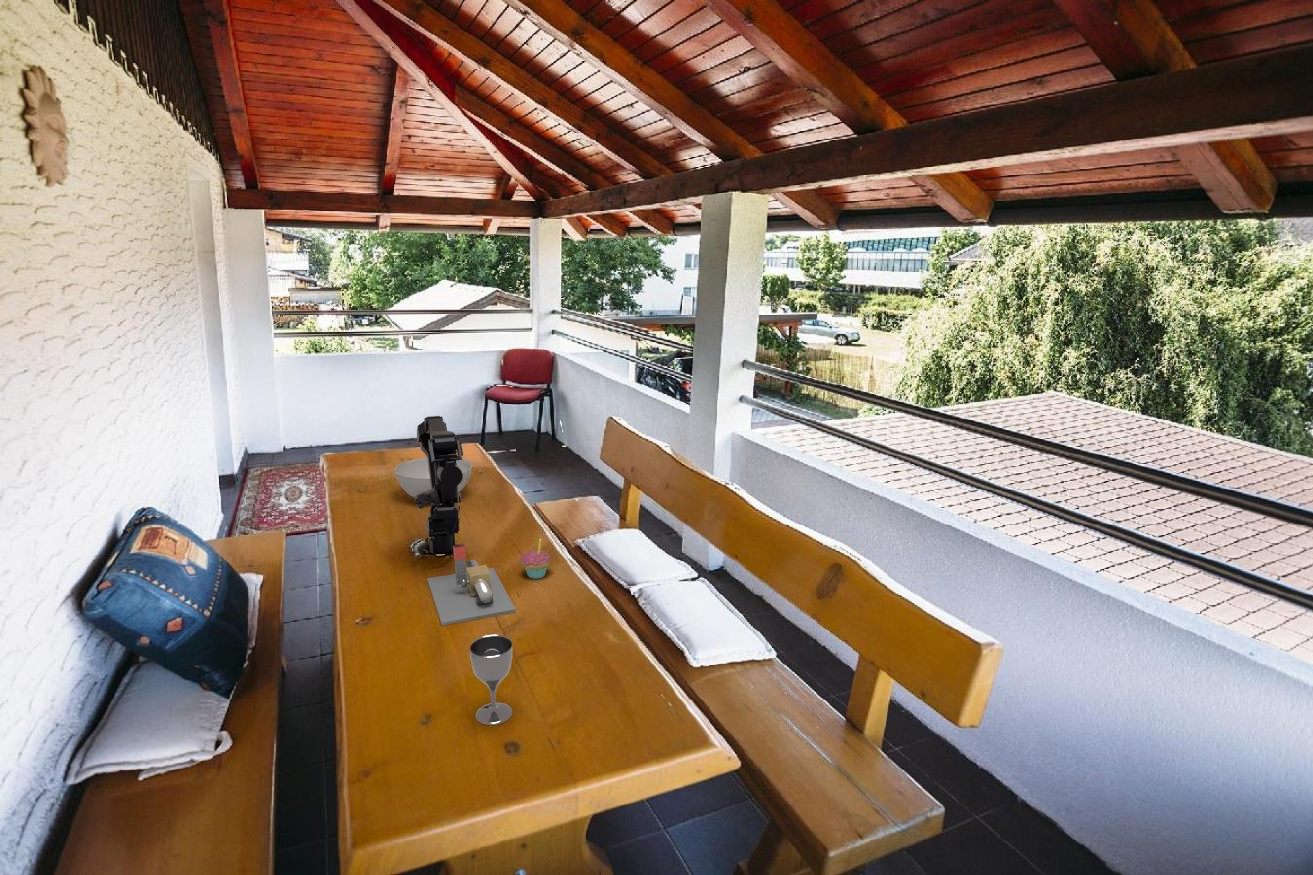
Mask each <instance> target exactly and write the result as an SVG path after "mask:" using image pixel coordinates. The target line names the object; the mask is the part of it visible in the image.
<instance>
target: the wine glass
mask: <svg viewBox="0 0 1313 875" xmlns="http://www.w3.org/2000/svg"><path fill="white" fill-rule="evenodd" d="M469 657H470V663H471V668H472V671H473V674H474V675H475V677H476V678H477V679H478V680H479V681H481V682H482V683H483V684H484V685H486V686H487V688H488V689H489V694H490V699H491V700H490V702H489V703H486V704H484V705H482V706H480V707H479V708H478V709H477V710H476V713H475V720H476V721H477V722H478V723H480V724H483V725H486V726H495V725H499V724H500V725H501V724H503V723H505V722H507V721H508V720H509V719H510V718H512V717H511V716H513V709H512V707H511V706H510V705H509V704H507V703H504V702H499V701H497V702H496V698H497V697H496V694H497V688H498V687H499V684H500V683H501V682H502V681H503V680H504V679H505V678H506V677H507V675H508V674H509V673H510V670H511V667H512V660H513V642H512V640H511V639H510V638H509V637H507V636H505V635H500V634H489V635H483V636H481V637H479V638H477V639H474V640H473V641H472V642H471V644H470V646H469Z"/></svg>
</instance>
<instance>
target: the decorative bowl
mask: <svg viewBox="0 0 1313 875" xmlns="http://www.w3.org/2000/svg"><path fill="white" fill-rule="evenodd" d="M456 463H457V466H458V467H459V469H460V470H461V471H462V474H463V479H462V481H461V483H460V484H459V485H458V492H459V493H460V492H461V491H462V490H463V489H464V488H465V486H466V485H467V483H468V481H469V479H470V477H471V474H472V472H473V465H474V464H473V463H472V462H471V461H470V460H468V459H465V458H462V460H456ZM393 469H394V470H393V473H394V475H395V478H396V481H397V482H398V484H399V486H400V487H401V488H402V489H403V490H404V492H406V493H407V494H408V495H410V496H411V497H412V498H413V499H414V498H415V496H416V495H418V494H420V493H423V492H425V491H427V490H430V489H431V483H430V475H429V467H428V459H427V456H426V457H420V458H413V459H409V460H407V461H403V462H401V463H399V464H397V465H396V466H395V467H394V468H393ZM430 505H431V506H432V505H433V503H432V504H430ZM430 505H429V506H430Z"/></svg>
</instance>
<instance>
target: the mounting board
mask: <svg viewBox="0 0 1313 875" xmlns="http://www.w3.org/2000/svg"><path fill="white" fill-rule="evenodd" d="M488 569H489V571H490V573H491V592H492V594H493V604H488V605H483V606H477V604H476V597H479V595H477V596H471V595H470V593H469V590H468V588H467V587H464V588H461V584H460V585H457V584H456V573H451V574H446V575H439V576H433V577H428V578H427V585H428V586H429V590H430V593H431V597H432V599H433V603H434V605H435V610H436V612H437V615H438V618H439V620H440V624H441V626H447V625H453V624H458V623H459V624H460V623H464V622H469V621H475V620H480V619H484V618H485V619H487V618H490V617H496V616H501V615H507V614H511V613H512V614H513V613H516V612H517V610H516V607H515V605H514V603H513V602H512V600H511V598H510V596H509V595H508V593H507V590H506V589H505V587H504V585H503V582H501V579H500V578H499V576H498V574H497V572H496V570H495V568H494V567H491V568H489V567H488ZM466 575H467V573H466ZM466 582H467V581H466Z"/></svg>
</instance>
